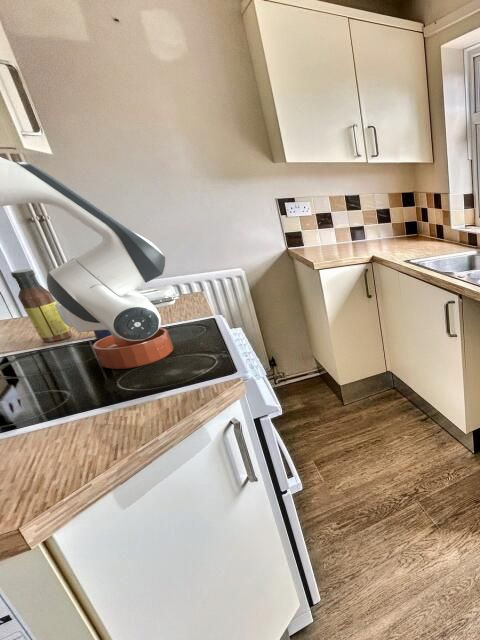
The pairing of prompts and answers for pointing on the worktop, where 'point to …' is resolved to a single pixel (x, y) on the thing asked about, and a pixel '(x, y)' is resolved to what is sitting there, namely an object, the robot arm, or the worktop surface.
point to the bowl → (132, 350)
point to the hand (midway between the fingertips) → (115, 297)
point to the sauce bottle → (40, 307)
